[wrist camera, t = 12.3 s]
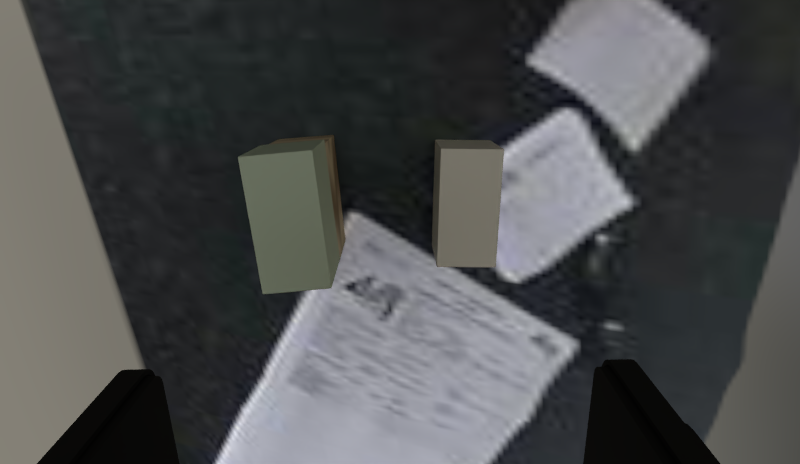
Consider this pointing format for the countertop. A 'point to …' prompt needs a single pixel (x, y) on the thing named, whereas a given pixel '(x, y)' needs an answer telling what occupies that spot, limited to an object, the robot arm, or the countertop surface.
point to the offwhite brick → (466, 202)
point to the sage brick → (291, 215)
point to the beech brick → (333, 181)
